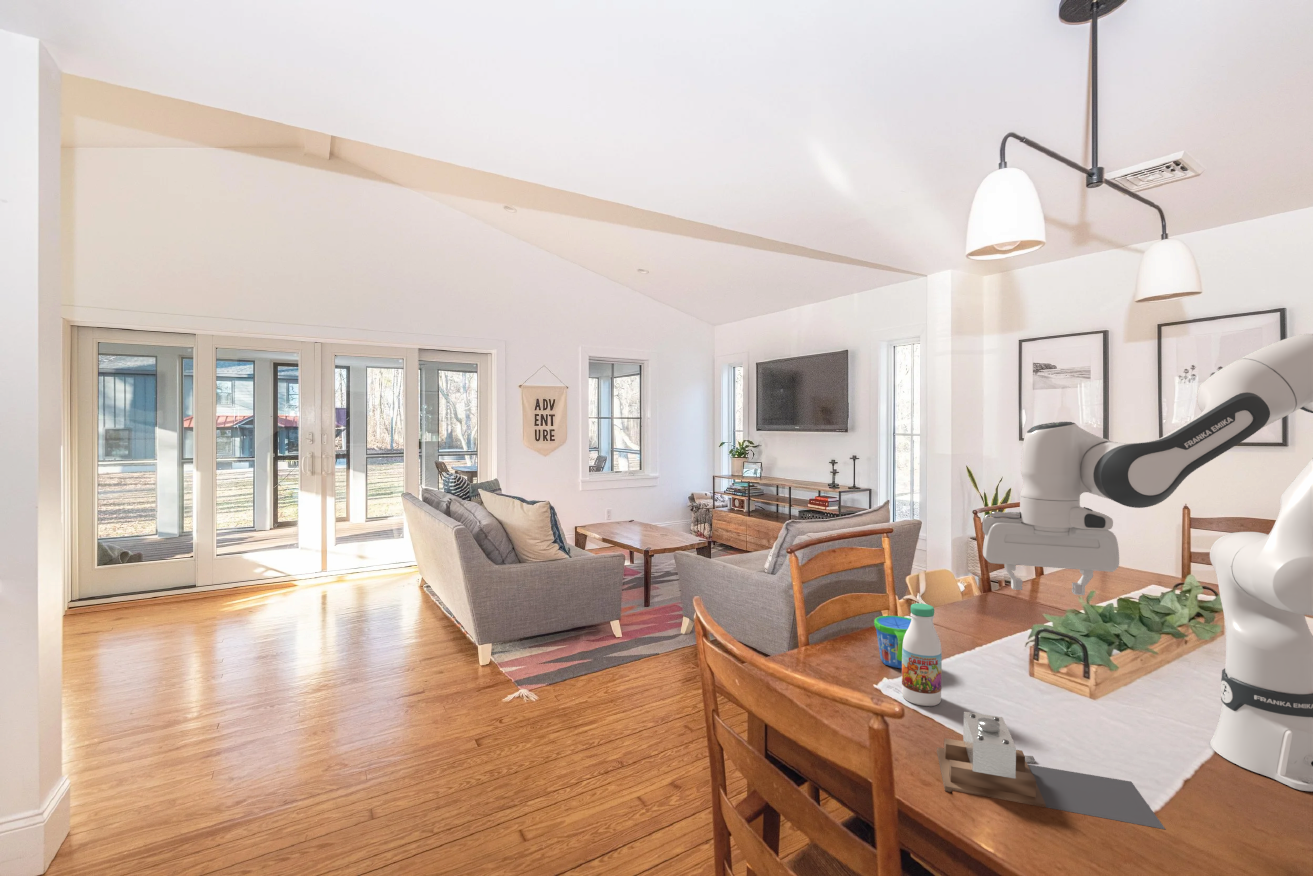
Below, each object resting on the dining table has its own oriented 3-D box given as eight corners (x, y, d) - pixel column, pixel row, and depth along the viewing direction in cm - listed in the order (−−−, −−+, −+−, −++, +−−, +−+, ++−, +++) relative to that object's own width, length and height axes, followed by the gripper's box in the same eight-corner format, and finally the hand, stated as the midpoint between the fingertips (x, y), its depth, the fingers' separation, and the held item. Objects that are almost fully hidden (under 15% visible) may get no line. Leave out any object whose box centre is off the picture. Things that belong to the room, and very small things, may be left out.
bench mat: (1131, 784, 98) (1131, 781, 98) (1165, 832, 87) (1165, 829, 87) (1019, 765, 104) (1019, 763, 104) (1038, 808, 92) (1038, 805, 92)
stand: (1026, 766, 103) (1026, 747, 103) (1045, 809, 92) (1046, 788, 92) (936, 751, 108) (937, 733, 108) (944, 791, 97) (945, 770, 97)
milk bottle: (896, 690, 132) (897, 600, 131) (931, 690, 132) (933, 600, 131) (909, 707, 124) (911, 611, 124) (947, 707, 124) (949, 612, 123)
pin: (1030, 755, 105) (1034, 756, 104) (1031, 764, 105) (1035, 765, 103) (1006, 753, 106) (1009, 755, 104) (1007, 762, 105) (1010, 764, 104)
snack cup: (873, 648, 156) (873, 609, 155) (917, 653, 152) (918, 614, 152) (874, 673, 141) (875, 630, 140) (923, 679, 137) (924, 635, 137)
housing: (1015, 778, 94) (1016, 741, 94) (972, 771, 96) (973, 734, 96) (1002, 745, 104) (1002, 711, 103) (963, 739, 106) (963, 706, 105)
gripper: (985, 513, 107) (984, 590, 107) (1124, 520, 100) (1122, 602, 100) (979, 508, 112) (978, 581, 113) (1110, 514, 106) (1107, 592, 106)
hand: (1046, 591), depth 107 cm, fingers open, 8 cm apart
